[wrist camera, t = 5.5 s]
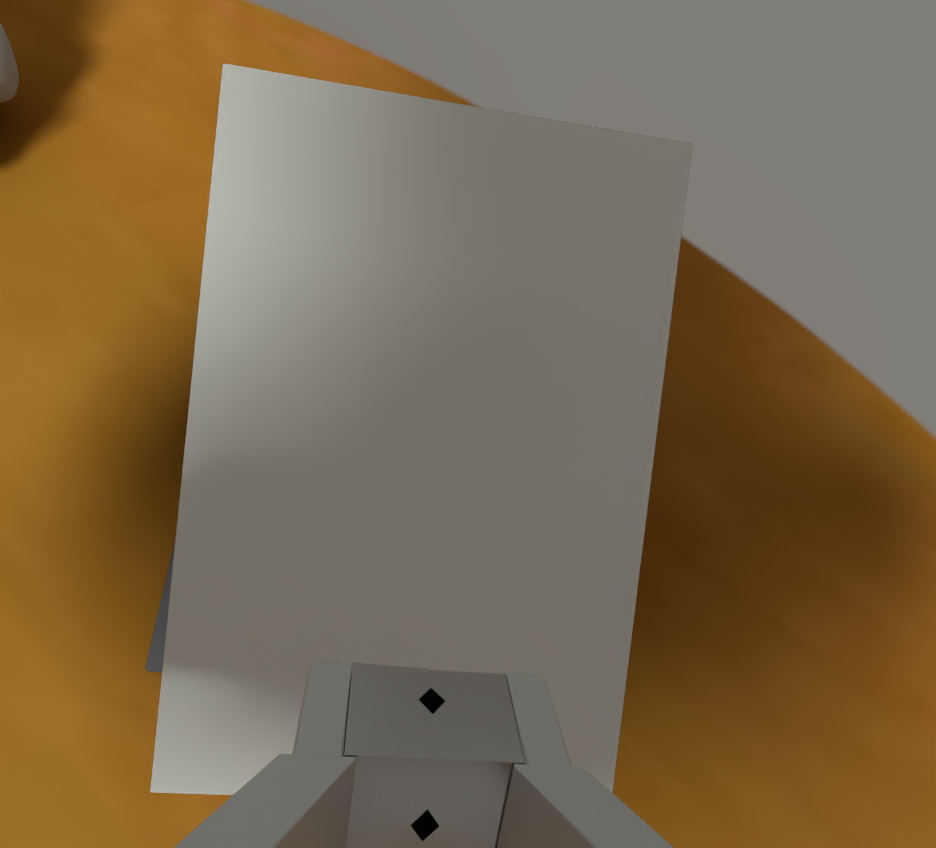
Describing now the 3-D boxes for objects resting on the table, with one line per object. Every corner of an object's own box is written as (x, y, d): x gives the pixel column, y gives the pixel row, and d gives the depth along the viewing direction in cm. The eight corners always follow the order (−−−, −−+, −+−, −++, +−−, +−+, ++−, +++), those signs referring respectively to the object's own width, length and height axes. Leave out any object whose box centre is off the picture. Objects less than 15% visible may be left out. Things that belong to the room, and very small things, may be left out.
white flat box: (149, 792, 12) (223, 63, 11) (191, 718, 14) (251, 125, 14) (610, 808, 13) (692, 144, 12) (570, 736, 15) (636, 187, 15)
